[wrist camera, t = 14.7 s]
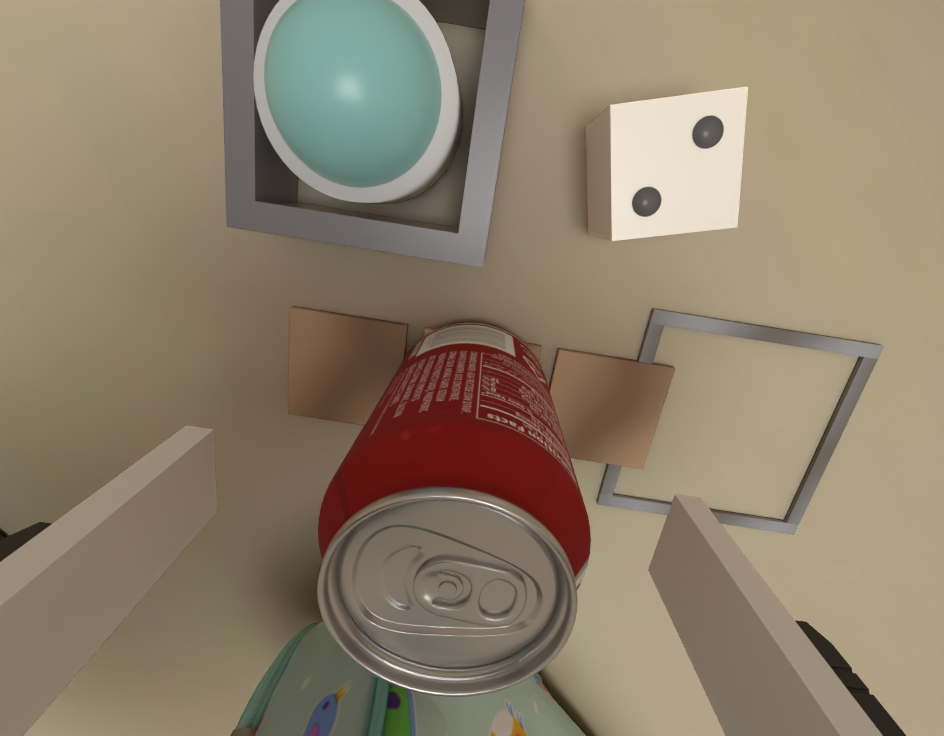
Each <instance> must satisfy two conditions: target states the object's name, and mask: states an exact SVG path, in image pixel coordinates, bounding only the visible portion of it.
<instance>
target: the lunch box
mask: <svg viewBox="0 0 944 736" xmlns="http://www.w3.org/2000/svg"><path fill="white" fill-rule="evenodd" d="M231 736H586V735H585V734H584V733H583V732H582V731H581V729H580V728H579V727H578V726H577V725H576V724H575V723H574V722H573V721H572V720H571V718H570V717H569V716H568V715H567V714H566V713H565V711H564V710H563V709H562V708H561V707H560V706H559V705H558V704H557V702H556V701H555V700H554V699H553V697H552V696H551V695H550V693H549V692H548V690H547V689H546V688H545V686H544V685H543V683H542V679H541V677H540V675H539V674H538V673H536V674H535V675H533V676H532V677H530V678H528V679H526V680H525V681H523V682H521V683H518V684H516V685H514V686H512V687H509V688H506V689H503V690H500V691H496V692H493V693H488V694H483V695H476V696H465V697H445V696H434V695H428V694H422V693H418V692H414V691H410V690H407V689H403V688H400V687H398V686H395V685H393V684H390V683H388V682H386V681H384V680H382V679H380V678H378V677H376V676H374V675H373V674H371V673H369V672H368V671H366V670H365V669H363V668H362V667H361V666H359V665H358V664H357V663H356V662H354V661H353V660H352V659H351V658H350V657H349V656H348V655H347V654H346V653H345V652H344V651H343V650H342V649H341V648H340V647H339V646H338V644H337V643H336V642H335V640H334V639H333V637H332V636H331V634H330V633H329V631H328V629H327V627H326V625H325V623H324V621H323V622H321V623H314V624H311V625H309V626H307V627H305V628H304V629H303V630H301V631H300V632H299V633H298V634H297V635H296V636H295V637H294V638H293V639H292V640H291V641H290V642H289V643H288V644H287V645H286V646H285V648H284V649H283V650H282V651H281V652H280V654H279V655H278V656H277V658H276V659H275V660H274V662H273V663H272V665H271V666H270V668H269V669H268V671H267V672H266V673H265V675H264V677H263V678H262V680H261V681H260V683H259V685H258V686H257V688H256V690H255V692H254V693H253V695H252V697H251V699H250V701H249V702H248V704H247V706H246V708H245V710H244V712H243V714H242V716H241V718H240V721H239V723H238V725H237V727H236V729H235V730H233V732H232V734H231Z"/></svg>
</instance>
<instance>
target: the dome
mask: <svg viewBox="0 0 944 736" xmlns="http://www.w3.org/2000/svg"><path fill="white" fill-rule="evenodd" d="M253 79H254V93H255V99H256V104H257V109H258V113H259V116H260V119H261V123H262V125H263V127H264V130H265V132H266V135H267V137H268V139H269V140H270V142H271V144H272V146H273V148H274V149H275V151H276V152H277V154H278V155H279V156H280V158H281V159H282V161H283V162H284V163H285V164H286V165H287V166H288V168H289V169H290V170H291V171H292V172H293V173H294V174H295V175H297V176H298V177H299V178H300V179H301V180H302V181H304V182H305V183H307V184H308V185H309V186H311V187H312V188H314V189H316V190H318V191H320V192H321V193H323V194H326V195H328V196H331V197H333V198H336V199H340V200H345V201H349V202H361V203H380V204H385V203H396V202H401V201H405V200H408V199H411V198H413V197H415V196H417V195H419V194H421V193H423V192H424V191H426V190H427V189H428V188H430V187H431V186H432V185H433V184H434V183H435V182H436V181H438V180H439V178H440V177H441V176H442V175H443V173H444V172H445V171H446V169H447V168H448V166H449V165H450V163H451V161H452V159H453V157H454V155H455V153H456V150H457V147H458V144H459V141H460V136H461V131H462V122H463V104H462V97H461V91H460V87H459V83H458V80H457V76H456V72H455V69H454V65H453V62H452V58H451V55H450V51H449V48H448V46H447V43H446V41H445V38H444V36H443V34H442V32H441V30H440V28H439V26H438V25H437V23H436V21H435V19H434V18H433V17H432V15H431V14H430V13H429V11H428V10H427V9H426V7H425V6H424V5H423V4H422V3H421V2H420V1H419V0H280V1H279V2H278V3H277V4H276V5H275V7H274V8H273V10H272V12H271V13H270V15H269V16H268V18H267V20H266V22H265V24H264V27H263V29H262V31H261V34H260V37H259V41H258V44H257V48H256V54H255V60H254V76H253Z"/></svg>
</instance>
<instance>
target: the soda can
mask: <svg viewBox="0 0 944 736" xmlns="http://www.w3.org/2000/svg"><path fill="white" fill-rule="evenodd" d="M318 537H319V546H320V552H321V556H322V562H321V565H320V569H319V574H318V581H317V597H318V604H319V609H320V612H321V615H322V618H323V621H324V623H325V625H326V627H327V629H328V631H329V633H330V634H331V636H332V637H333V639H334V640H335V642H336V643H337V644H338V646H339V647H340V648H341V649H342V650H343V651H344V652H345V653H346V654H347V655H348V656H349V657H350V658H351V659H352V660H353V661H354V662H356V663H357V664H358V665H359V666H361V667H362V668H363V669H365V670H366V671H368V672H369V673H371V674H373V675H374V676H376V677H378V678H380V679H382V680H384V681H386V682H388V683H390V684H393V685H395V686H398V687H400V688H403V689H407V690H410V691H414V692H418V693H422V694H428V695H434V696H445V697H465V696H476V695H483V694H488V693H493V692H496V691H500V690H503V689H506V688H509V687H512V686H514V685H516V684H518V683H521V682H523V681H525V680H526V679H528V678H530V677H532V676H533V675H535V674H536V673H538V672H539V671H541V670H542V669H543V668H544V667H546V666H547V665H548V664H549V663H550V662H551V661H552V660H553V659H554V658H555V657H556V656H557V655H558V653H559V652H560V651H561V649H562V648H563V647H564V645H565V643H566V642H567V640H568V638H569V636H570V634H571V632H572V629H573V626H574V623H575V618H576V613H577V589H578V587H579V586H580V583H581V581H582V579H583V577H584V574H585V571H586V568H587V565H588V560H589V555H590V543H591V538H590V526H589V520H588V515H587V512H586V508H585V505H584V502H583V498H582V495H581V492H580V489H579V486H578V482H577V479H576V476H575V473H574V469H573V466H572V463H571V460H570V456H569V453H568V450H567V447H566V443H565V440H564V437H563V434H562V430H561V427H560V424H559V421H558V417H557V414H556V411H555V408H554V404H553V401H552V398H551V395H550V391H549V388H548V385H547V382H546V378H545V375H544V372H543V370H542V367H541V365H540V363H539V361H538V360H537V358H536V357H535V355H534V354H533V352H532V351H531V350H530V349H529V348H528V347H527V346H526V345H525V344H524V343H523V342H522V341H521V340H519V339H518V338H517V337H515V336H514V335H512V334H511V333H509V332H507V331H505V330H503V329H500V328H497V327H495V326H491V325H487V324H481V323H459V324H453V325H449V326H445V327H442V328H440V329H438V330H435V331H433V332H431V333H430V334H428V335H426V336H425V337H424V338H422V339H421V340H420V341H419V342H417V343H416V344H415V345H414V346H413V347H412V349H411V350H410V351H409V352H408V354H407V355H406V357H405V358H404V360H403V362H402V363H401V365H400V367H399V368H398V370H397V372H396V373H395V375H394V377H393V378H392V380H391V382H390V383H389V385H388V387H387V388H386V390H385V392H384V393H383V395H382V397H381V398H380V400H379V402H378V404H377V405H376V407H375V409H374V410H373V412H372V414H371V415H370V417H369V419H368V420H367V422H366V424H365V425H364V427H363V429H362V430H361V432H360V434H359V435H358V437H357V439H356V440H355V442H354V444H353V446H352V447H351V449H350V451H349V452H348V454H347V456H346V457H345V459H344V461H343V462H342V464H341V466H340V467H339V469H338V471H337V472H336V474H335V476H334V477H333V479H332V481H331V482H330V484H329V487H328V489H327V491H326V493H325V496H324V499H323V502H322V505H321V510H320V515H319V524H318Z"/></svg>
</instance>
